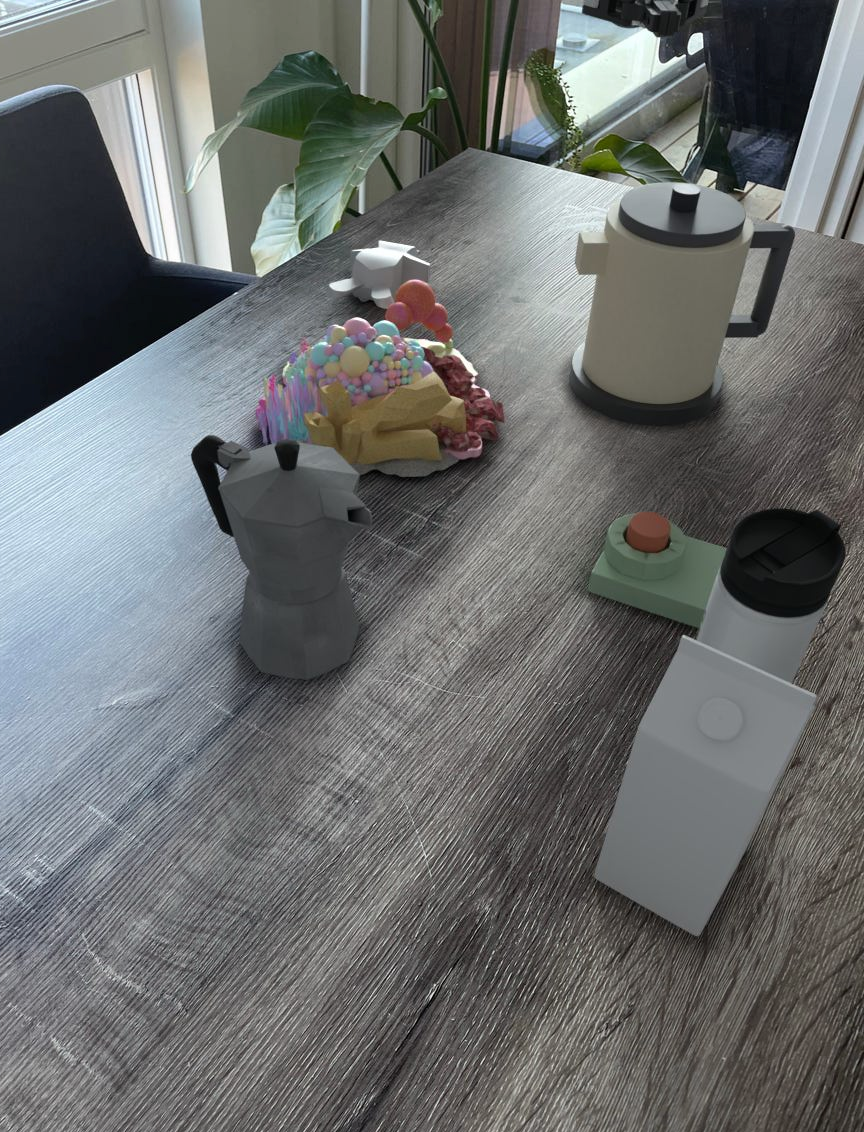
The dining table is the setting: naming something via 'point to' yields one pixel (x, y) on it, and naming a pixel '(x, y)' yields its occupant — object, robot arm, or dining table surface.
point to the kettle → (669, 300)
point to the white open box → (381, 273)
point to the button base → (658, 574)
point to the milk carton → (699, 781)
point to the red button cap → (648, 532)
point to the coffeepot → (289, 548)
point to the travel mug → (773, 588)
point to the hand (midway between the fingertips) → (667, 25)
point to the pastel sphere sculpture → (384, 393)
